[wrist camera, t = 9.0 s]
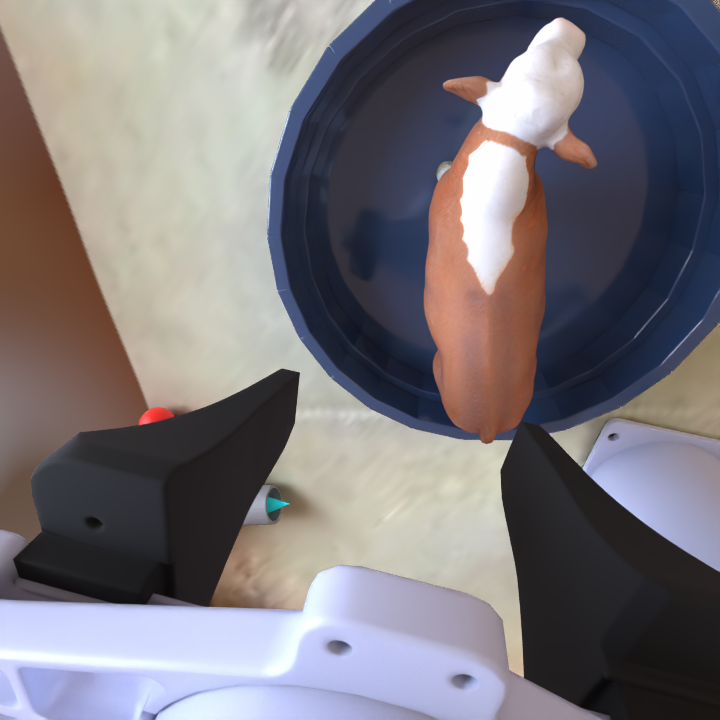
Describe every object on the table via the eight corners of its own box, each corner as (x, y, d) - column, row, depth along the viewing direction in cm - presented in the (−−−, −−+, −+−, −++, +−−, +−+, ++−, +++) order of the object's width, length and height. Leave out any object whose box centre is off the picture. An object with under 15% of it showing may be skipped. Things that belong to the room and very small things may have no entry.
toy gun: (302, 508, 29) (279, 570, 25) (155, 516, 32) (112, 572, 28) (257, 387, 26) (221, 435, 21) (95, 408, 29) (34, 454, 24)
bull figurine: (556, 57, 16) (653, -17, 9) (506, 373, 22) (539, 483, 15) (438, 62, 17) (438, -4, 10) (420, 368, 23) (412, 470, 15)
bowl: (595, 421, 23) (628, 477, 19) (287, 354, 24) (258, 394, 20) (793, 26, 15) (921, -18, 11) (321, -42, 16) (283, -103, 12)
